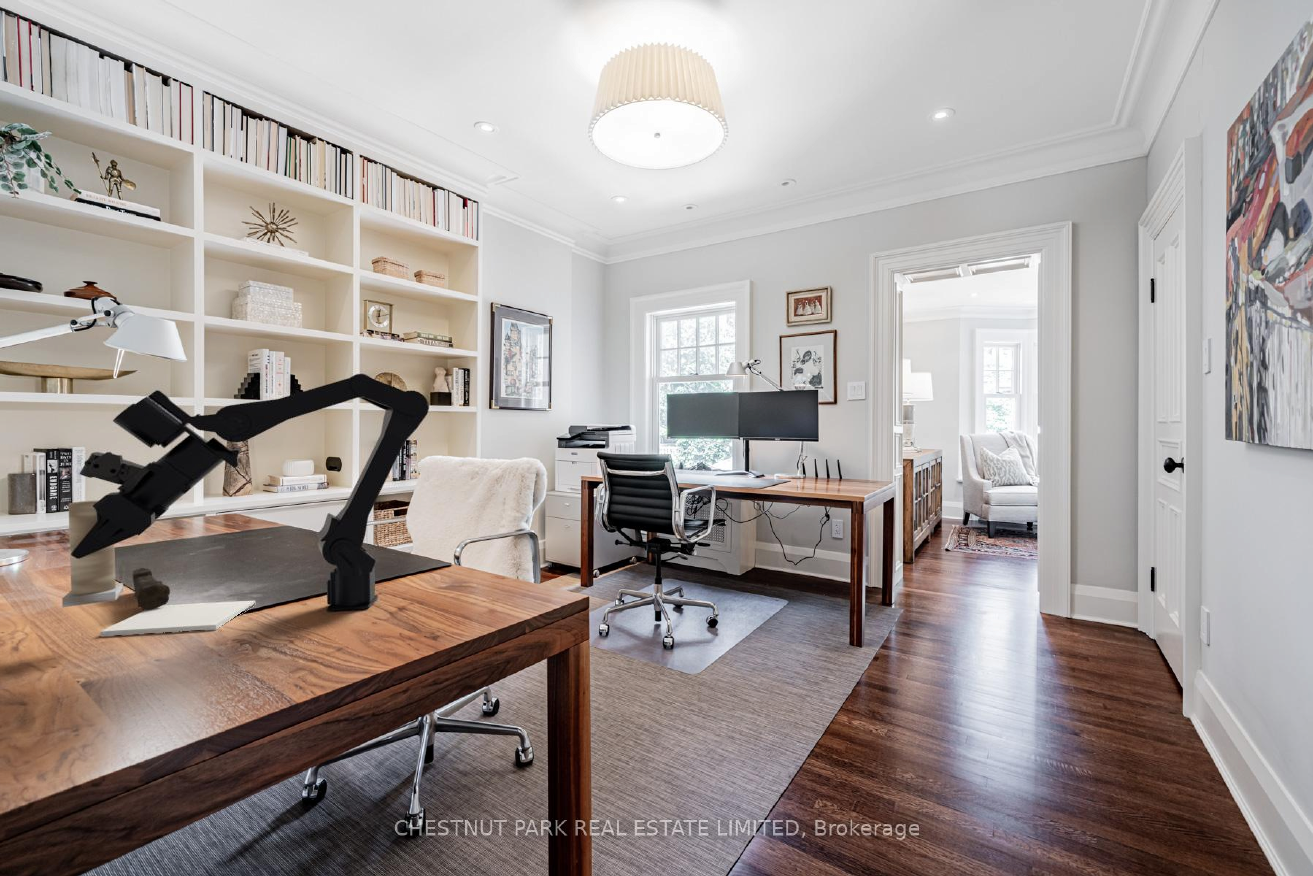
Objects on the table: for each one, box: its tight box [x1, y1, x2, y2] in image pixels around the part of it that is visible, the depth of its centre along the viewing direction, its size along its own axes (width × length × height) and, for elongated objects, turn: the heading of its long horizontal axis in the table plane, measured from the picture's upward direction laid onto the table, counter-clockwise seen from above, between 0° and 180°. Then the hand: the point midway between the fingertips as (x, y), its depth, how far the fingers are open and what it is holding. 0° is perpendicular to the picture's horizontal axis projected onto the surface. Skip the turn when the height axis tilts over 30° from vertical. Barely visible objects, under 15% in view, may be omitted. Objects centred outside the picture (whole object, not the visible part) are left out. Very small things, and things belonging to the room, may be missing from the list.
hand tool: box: [132, 567, 171, 611], centre depth 99 cm, size 19×4×5 cm, turn 45°
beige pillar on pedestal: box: [61, 499, 124, 608], centre depth 79 cm, size 5×5×14 cm
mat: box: [99, 600, 256, 638], centre depth 91 cm, size 15×12×1 cm
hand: (78, 553), depth 78 cm, fingers closed on beige pillar on pedestal, 4 cm apart
